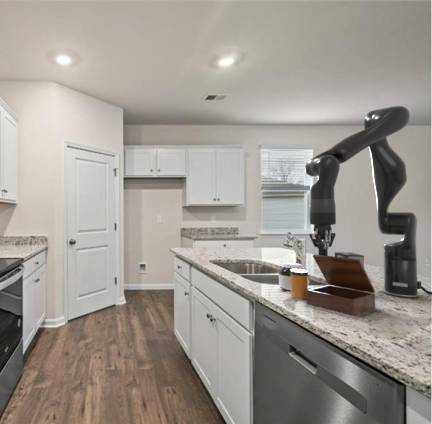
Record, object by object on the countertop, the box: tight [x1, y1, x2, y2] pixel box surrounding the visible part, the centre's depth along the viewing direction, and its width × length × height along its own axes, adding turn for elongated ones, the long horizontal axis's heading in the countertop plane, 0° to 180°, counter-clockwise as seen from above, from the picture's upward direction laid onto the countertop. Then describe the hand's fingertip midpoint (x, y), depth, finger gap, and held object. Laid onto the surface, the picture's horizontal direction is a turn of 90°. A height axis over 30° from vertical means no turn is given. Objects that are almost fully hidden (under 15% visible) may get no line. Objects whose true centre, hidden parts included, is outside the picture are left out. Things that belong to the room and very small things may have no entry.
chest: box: [306, 284, 376, 317], centre depth 96 cm, size 15×14×6 cm
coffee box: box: [334, 251, 365, 292], centre depth 117 cm, size 9×6×16 cm
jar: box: [290, 269, 309, 300], centre depth 107 cm, size 6×6×11 cm
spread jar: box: [278, 262, 310, 293], centre depth 120 cm, size 12×11×12 cm
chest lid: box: [312, 253, 376, 294], centre depth 97 cm, size 16×14×1 cm
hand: (323, 259), depth 100 cm, fingers closed
